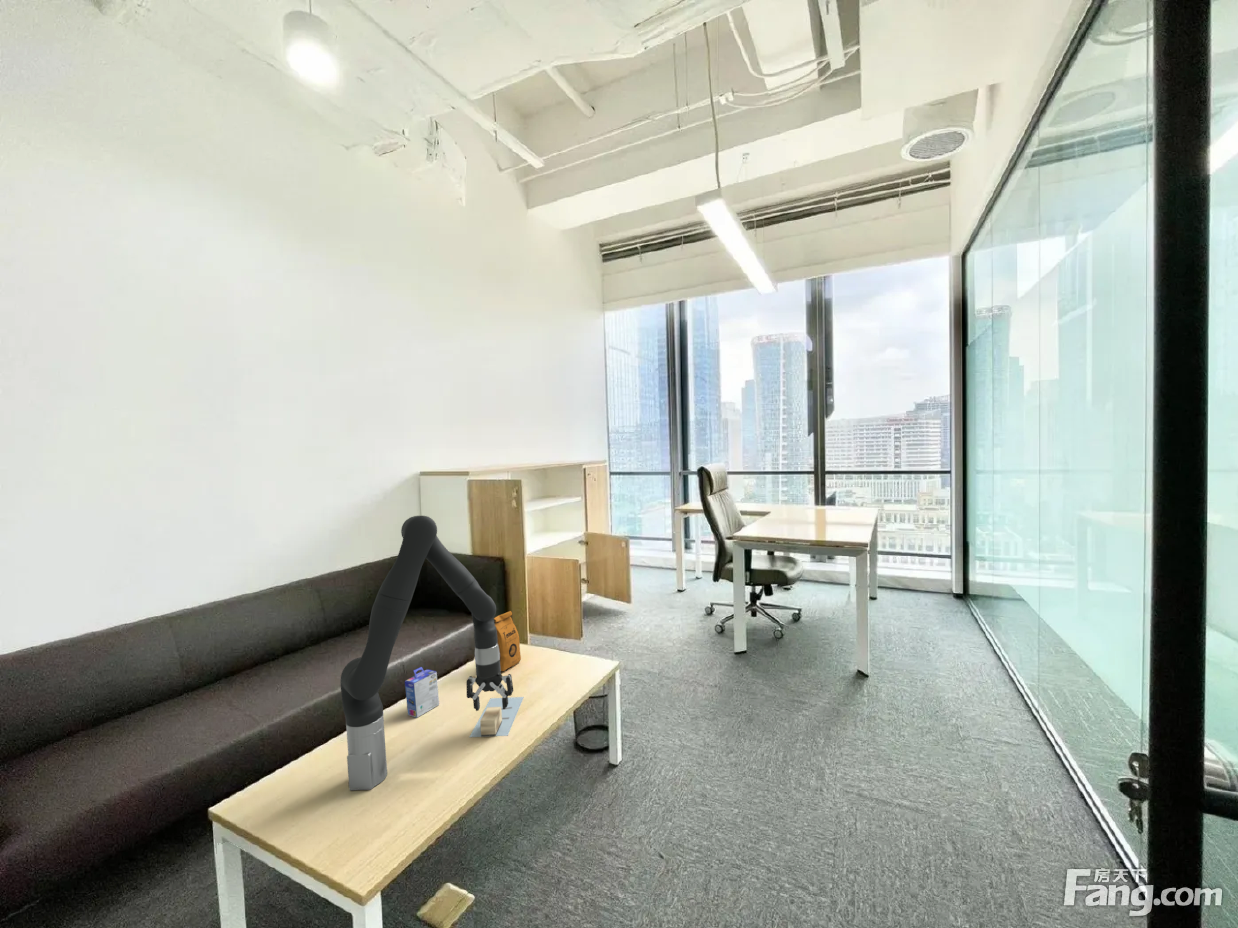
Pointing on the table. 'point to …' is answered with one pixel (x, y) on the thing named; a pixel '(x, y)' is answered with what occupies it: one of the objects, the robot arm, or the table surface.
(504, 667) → the coffee package
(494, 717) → the block
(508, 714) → the board
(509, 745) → the table surface
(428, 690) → the ink cartridge box
